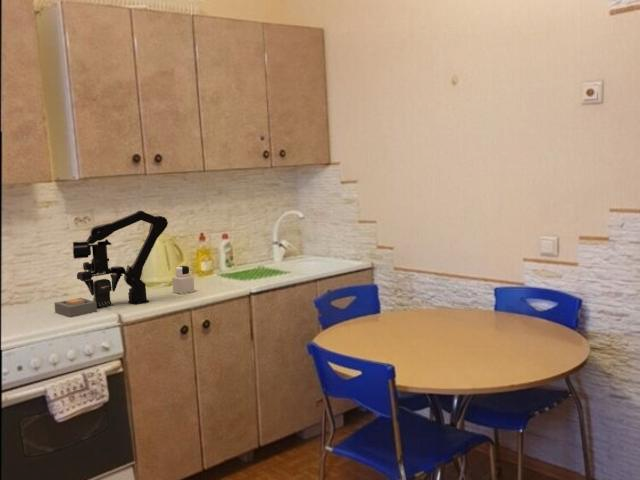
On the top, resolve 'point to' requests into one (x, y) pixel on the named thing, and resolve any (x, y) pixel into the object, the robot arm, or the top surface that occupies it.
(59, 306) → the grey open box
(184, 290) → the grey stepped upright block
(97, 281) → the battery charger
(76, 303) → the switch button
